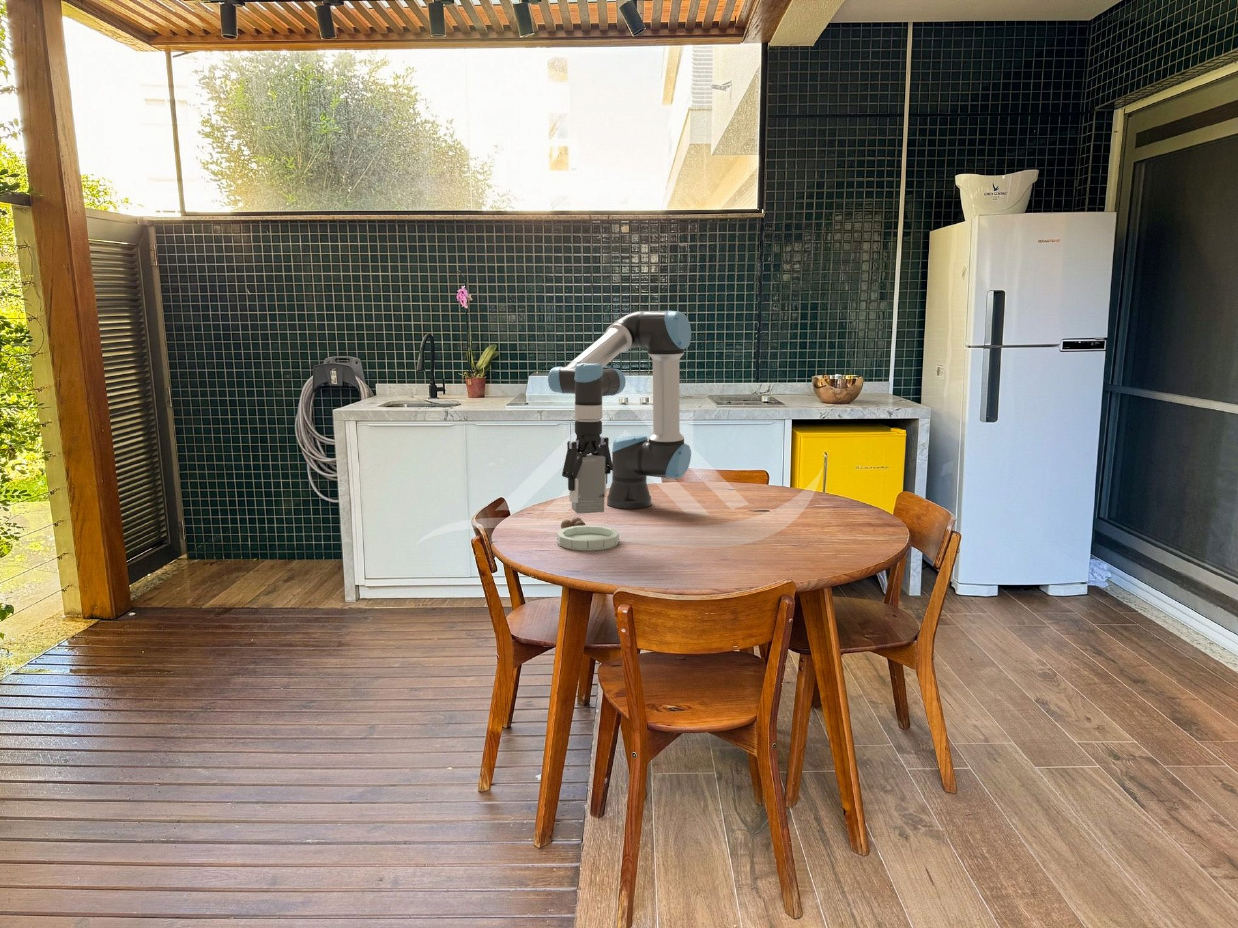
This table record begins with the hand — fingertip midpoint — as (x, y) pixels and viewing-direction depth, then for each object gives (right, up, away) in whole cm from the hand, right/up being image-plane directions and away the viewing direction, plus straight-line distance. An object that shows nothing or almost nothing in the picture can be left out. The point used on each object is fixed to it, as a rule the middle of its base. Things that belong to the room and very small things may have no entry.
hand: (588, 499), depth 232 cm
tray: (0, -12, +2) cm, 13 cm away
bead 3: (-3, -10, +13) cm, 17 cm away
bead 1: (-7, -10, +14) cm, 19 cm away
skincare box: (0, -4, +1) cm, 4 cm away
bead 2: (-4, -10, +17) cm, 20 cm away
